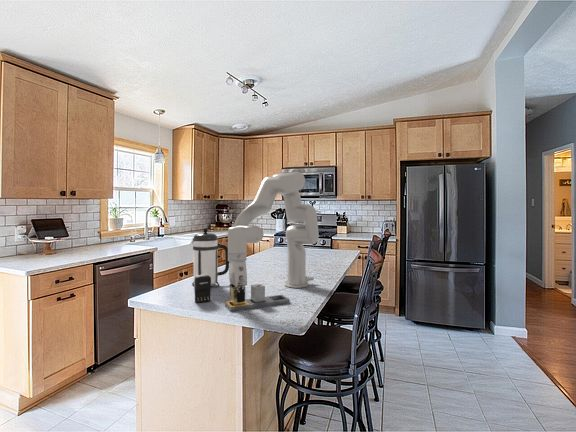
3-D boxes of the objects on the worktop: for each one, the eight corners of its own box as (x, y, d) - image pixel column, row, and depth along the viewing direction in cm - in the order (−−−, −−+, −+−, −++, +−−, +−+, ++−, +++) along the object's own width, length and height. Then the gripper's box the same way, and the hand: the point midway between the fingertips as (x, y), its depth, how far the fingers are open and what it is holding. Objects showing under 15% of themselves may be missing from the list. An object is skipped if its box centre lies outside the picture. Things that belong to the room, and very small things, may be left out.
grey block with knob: (260, 302, 138) (260, 283, 138) (264, 305, 134) (264, 286, 134) (251, 303, 136) (251, 284, 136) (254, 306, 132) (254, 287, 132)
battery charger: (195, 304, 135) (195, 277, 135) (193, 301, 139) (193, 275, 138) (212, 301, 139) (212, 275, 138) (210, 299, 142) (209, 273, 142)
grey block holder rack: (281, 298, 144) (281, 294, 144) (289, 303, 137) (289, 298, 137) (225, 305, 133) (225, 301, 133) (230, 311, 126) (230, 307, 126)
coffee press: (212, 291, 156) (212, 229, 155) (184, 288, 161) (184, 228, 160) (229, 283, 172) (229, 227, 171) (204, 280, 177) (203, 226, 176)
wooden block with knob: (240, 305, 134) (240, 285, 134) (244, 308, 130) (244, 288, 130) (230, 306, 132) (230, 287, 132) (233, 309, 128) (233, 289, 128)
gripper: (253, 259, 124) (253, 303, 125) (239, 253, 140) (239, 292, 140) (234, 261, 121) (234, 305, 122) (222, 254, 136) (222, 294, 137)
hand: (237, 298), depth 131 cm, fingers open, 9 cm apart
